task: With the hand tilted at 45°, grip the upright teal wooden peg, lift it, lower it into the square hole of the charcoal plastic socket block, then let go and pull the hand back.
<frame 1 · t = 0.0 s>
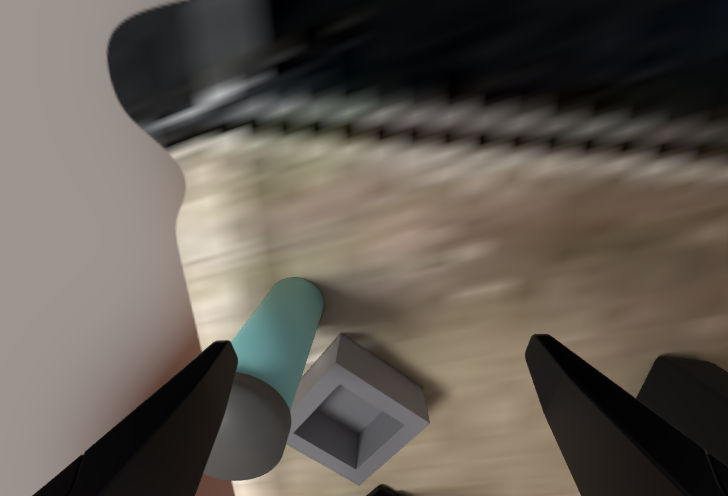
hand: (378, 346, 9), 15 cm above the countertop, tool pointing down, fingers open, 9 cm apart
electronic device: (656, 395, 28), on the countertop
peg: (296, 302, 26), on the countertop
socket block: (351, 393, 29), on the countertop
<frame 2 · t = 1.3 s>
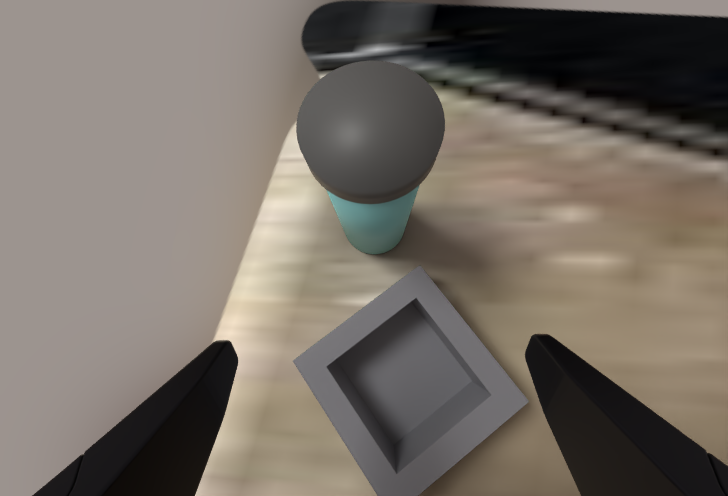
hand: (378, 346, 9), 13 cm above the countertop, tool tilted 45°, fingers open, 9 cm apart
peg: (374, 224, 23), on the countertop
socket block: (401, 367, 21), on the countertop
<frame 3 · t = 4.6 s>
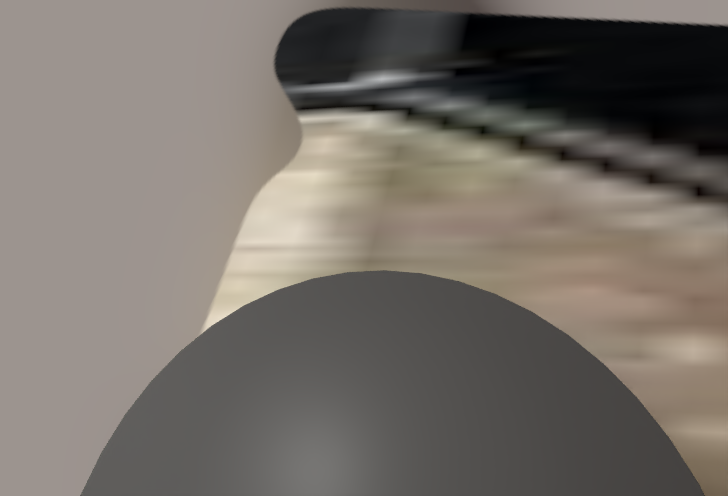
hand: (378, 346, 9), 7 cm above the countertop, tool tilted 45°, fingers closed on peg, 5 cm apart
peg: (379, 359, 15), on the countertop, touching gripper
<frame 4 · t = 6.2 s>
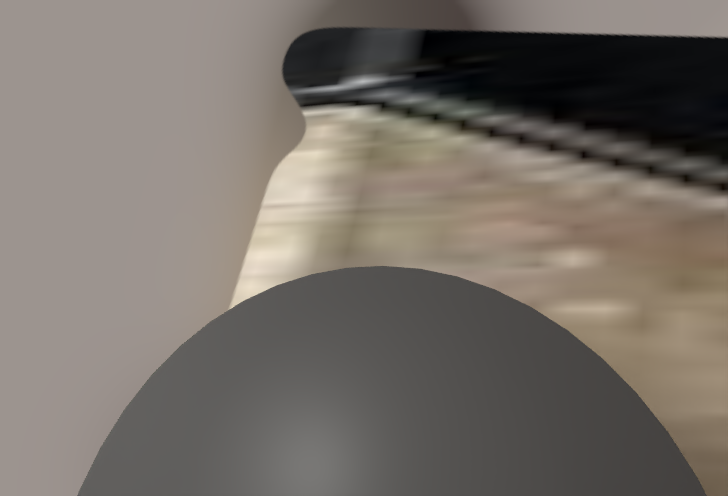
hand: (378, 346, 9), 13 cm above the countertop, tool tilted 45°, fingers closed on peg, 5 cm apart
peg: (379, 358, 15), point 6 cm above the countertop, touching gripper
when the fingers open (8 cm above the countertop, at t = 8.3 s): peg drops 1 cm, resting on socket block.
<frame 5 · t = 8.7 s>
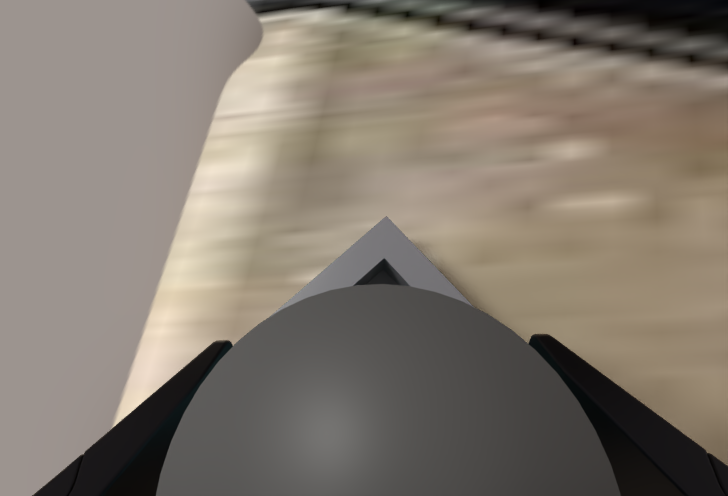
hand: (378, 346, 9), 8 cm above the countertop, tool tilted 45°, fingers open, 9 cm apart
peg: (379, 356, 16), point 1 cm above the countertop, touching socket block
socket block: (378, 354, 17), on the countertop
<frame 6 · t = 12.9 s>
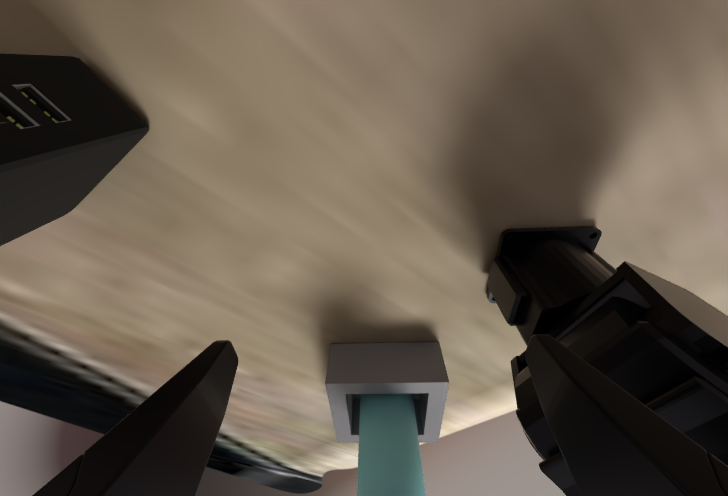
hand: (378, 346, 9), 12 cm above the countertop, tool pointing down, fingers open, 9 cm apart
electronic device: (81, 144, 18), on the countertop
peg: (385, 379, 29), resting on socket block
socket block: (385, 375, 29), on the countertop
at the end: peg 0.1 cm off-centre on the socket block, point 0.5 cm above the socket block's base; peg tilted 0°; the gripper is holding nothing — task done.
